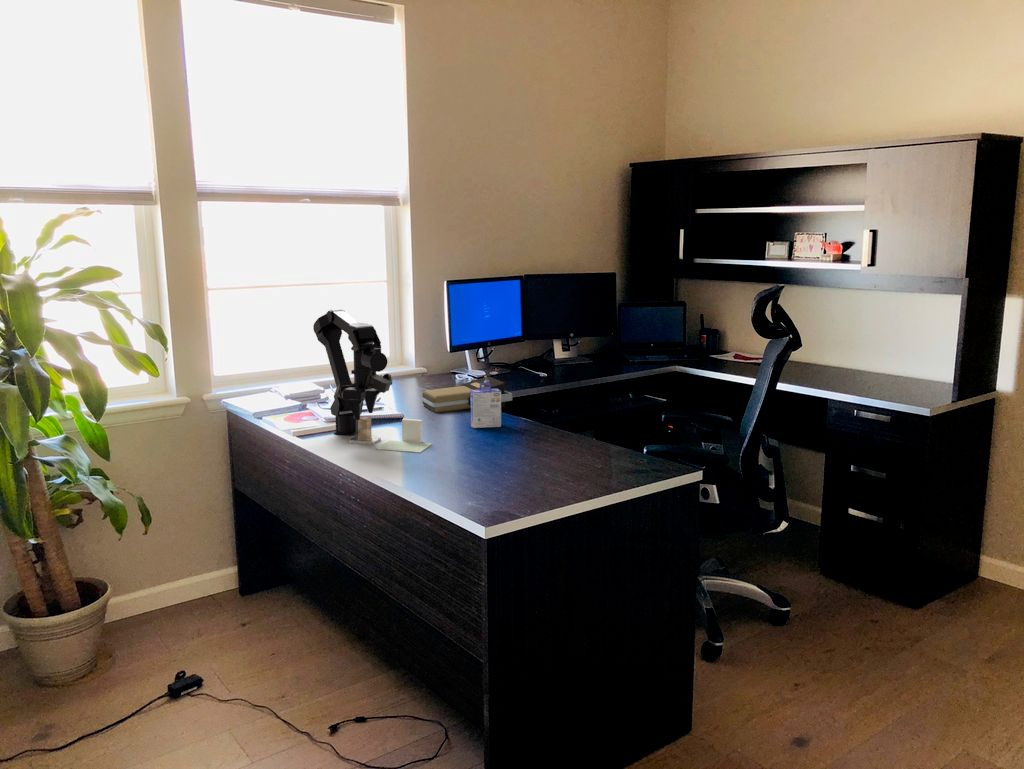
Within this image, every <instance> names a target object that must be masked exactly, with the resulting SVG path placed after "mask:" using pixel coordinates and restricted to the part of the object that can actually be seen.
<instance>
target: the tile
mask: <svg viewBox="0 0 1024 769" xmlns="http://www.w3.org/2000/svg"><path fill="white" fill-rule="evenodd" d="M401 436H402V437H401V441H406V442H418V443H423V420H422V419H414V418H413V419H412V418H403V419H401Z"/></svg>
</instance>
